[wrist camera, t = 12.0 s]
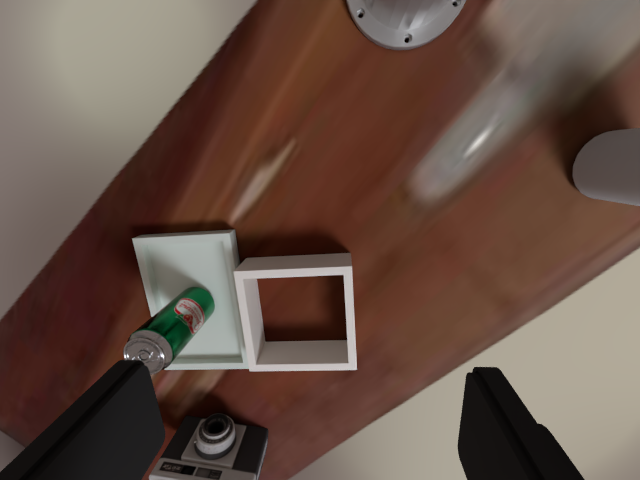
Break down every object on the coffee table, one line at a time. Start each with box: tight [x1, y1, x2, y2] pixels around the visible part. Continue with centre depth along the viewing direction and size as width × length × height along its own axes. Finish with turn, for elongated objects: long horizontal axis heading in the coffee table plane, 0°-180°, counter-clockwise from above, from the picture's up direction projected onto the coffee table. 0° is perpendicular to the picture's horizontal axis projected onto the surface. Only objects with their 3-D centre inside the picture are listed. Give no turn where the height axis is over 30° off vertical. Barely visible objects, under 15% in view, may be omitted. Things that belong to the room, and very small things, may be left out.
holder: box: [233, 253, 357, 371], centre depth 39 cm, size 14×14×5 cm
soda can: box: [123, 287, 215, 375], centre depth 36 cm, size 5×5×12 cm
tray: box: [132, 229, 249, 370], centre depth 41 cm, size 20×13×2 cm, turn 4°
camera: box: [149, 413, 268, 480], centre depth 43 cm, size 14×8×10 cm, turn 83°
